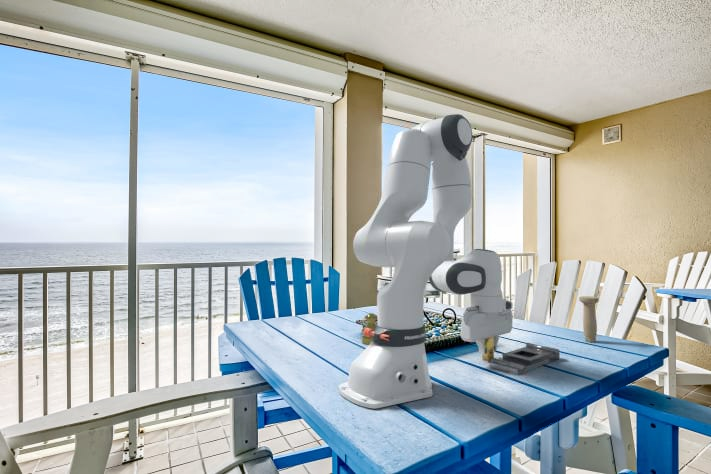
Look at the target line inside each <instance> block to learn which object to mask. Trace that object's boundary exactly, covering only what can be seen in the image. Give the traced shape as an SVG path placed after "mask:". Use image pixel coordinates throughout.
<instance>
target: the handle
mask: <svg viewBox="0 0 711 474" xmlns="http://www.w3.org/2000/svg"><path fill="white" fill-rule="evenodd" d="M599 300H600V299H599V296H591V295H589V296H587V295H585V296H579V297H578V301H579V302H580V303H582V304H583V314H582V315H583V318H582V324H583V325H582V327H583V334H584V341H585V342H587V343H596V342H597V333H598V325H597V323H598V322H597V315H596V304H597V303H598V302H600V301H599Z"/></svg>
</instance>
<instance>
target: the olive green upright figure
mask: <svg viewBox="0 0 711 474" xmlns="http://www.w3.org/2000/svg"><path fill="white" fill-rule="evenodd" d="M363 317H364V319H365V320H366V321H367V324H366V325H365V326H364V327H363V328H361V330H360V331H361V336H360V337H361V340H360V341H361V343H362V344H364V345H369V344H370V343H371V342H372V337H371V338H370V337H366V336H364V334H365V333H363V332H364V329H365V328H369V329H373V330H375V327H376V325H377V323H376V321H377V314H375V313H374V312H369V313H368V314H366V315H364V316H363Z"/></svg>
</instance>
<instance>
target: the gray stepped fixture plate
mask: <svg viewBox="0 0 711 474" xmlns="http://www.w3.org/2000/svg"><path fill="white" fill-rule="evenodd" d="M520 356H524V357H529V358H530V356H526V355H520ZM547 364H549V359H546V360H543V361H541V362H538V363H535V364H532V365H527V364H523V363H519V362H515V361H511V360H507V359H504V358H503V357H502V358H496V357H494V358H491V362H489V367H490V368H492V369H496V370H500V371H504V372H506V373H510V374H514V375H517V376H518V375H520V374H524V373H526V372H528V371H531V370H533V369H537V368H539V367H542V366H543V365H547Z"/></svg>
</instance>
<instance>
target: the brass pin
mask: <svg viewBox="0 0 711 474" xmlns="http://www.w3.org/2000/svg"><path fill="white" fill-rule="evenodd" d="M484 345H485V347H486V348H487V354H484V355H483V354H481V355H482V356H481V358H482V361H484V362H489V363H490V362H491V358H495V351H494V341H493V337H491V338H487V339H485V343H484Z"/></svg>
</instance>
